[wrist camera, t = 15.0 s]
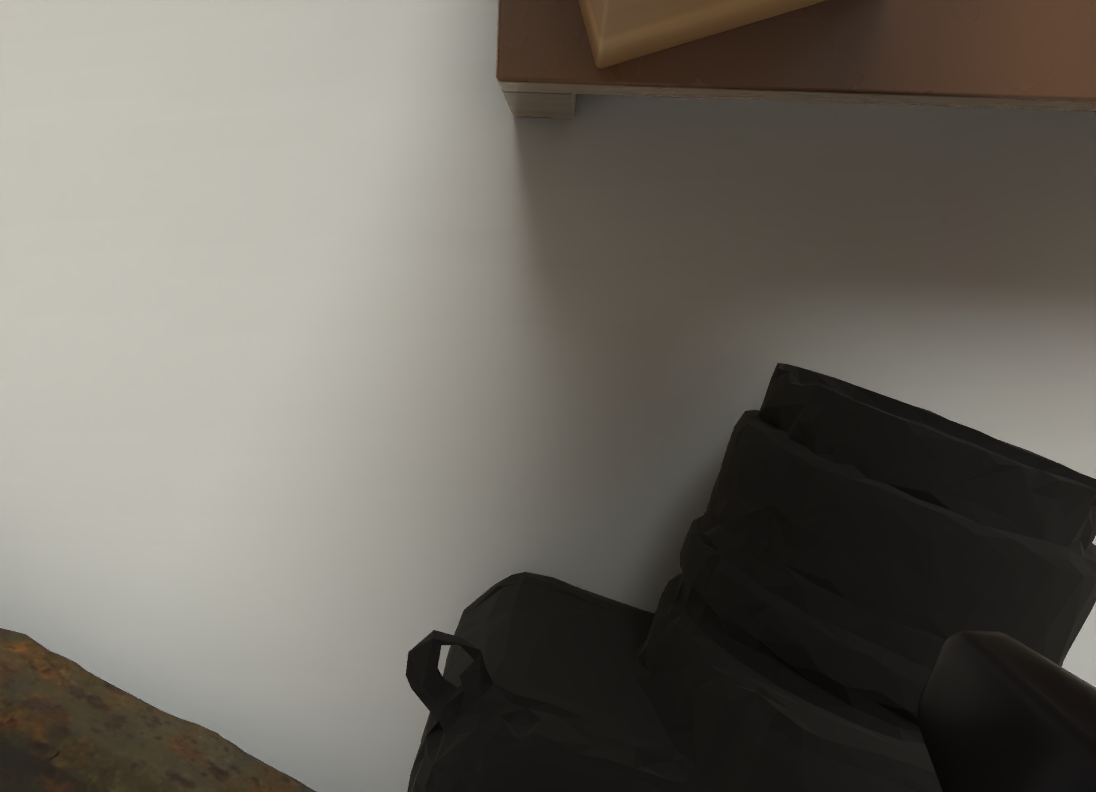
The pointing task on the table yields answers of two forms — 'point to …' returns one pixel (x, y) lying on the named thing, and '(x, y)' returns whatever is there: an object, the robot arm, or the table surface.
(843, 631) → the film camera
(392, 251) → the table surface
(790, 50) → the walnut shelf
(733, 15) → the beech stick
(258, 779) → the hand tool
